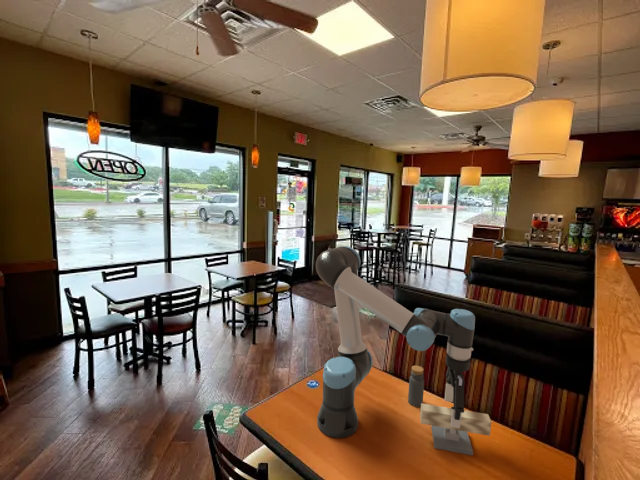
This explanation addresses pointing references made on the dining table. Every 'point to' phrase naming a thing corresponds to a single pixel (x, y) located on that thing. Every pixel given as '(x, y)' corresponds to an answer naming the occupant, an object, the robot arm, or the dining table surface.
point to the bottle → (416, 386)
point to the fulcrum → (451, 440)
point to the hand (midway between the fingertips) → (451, 413)
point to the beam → (443, 415)
